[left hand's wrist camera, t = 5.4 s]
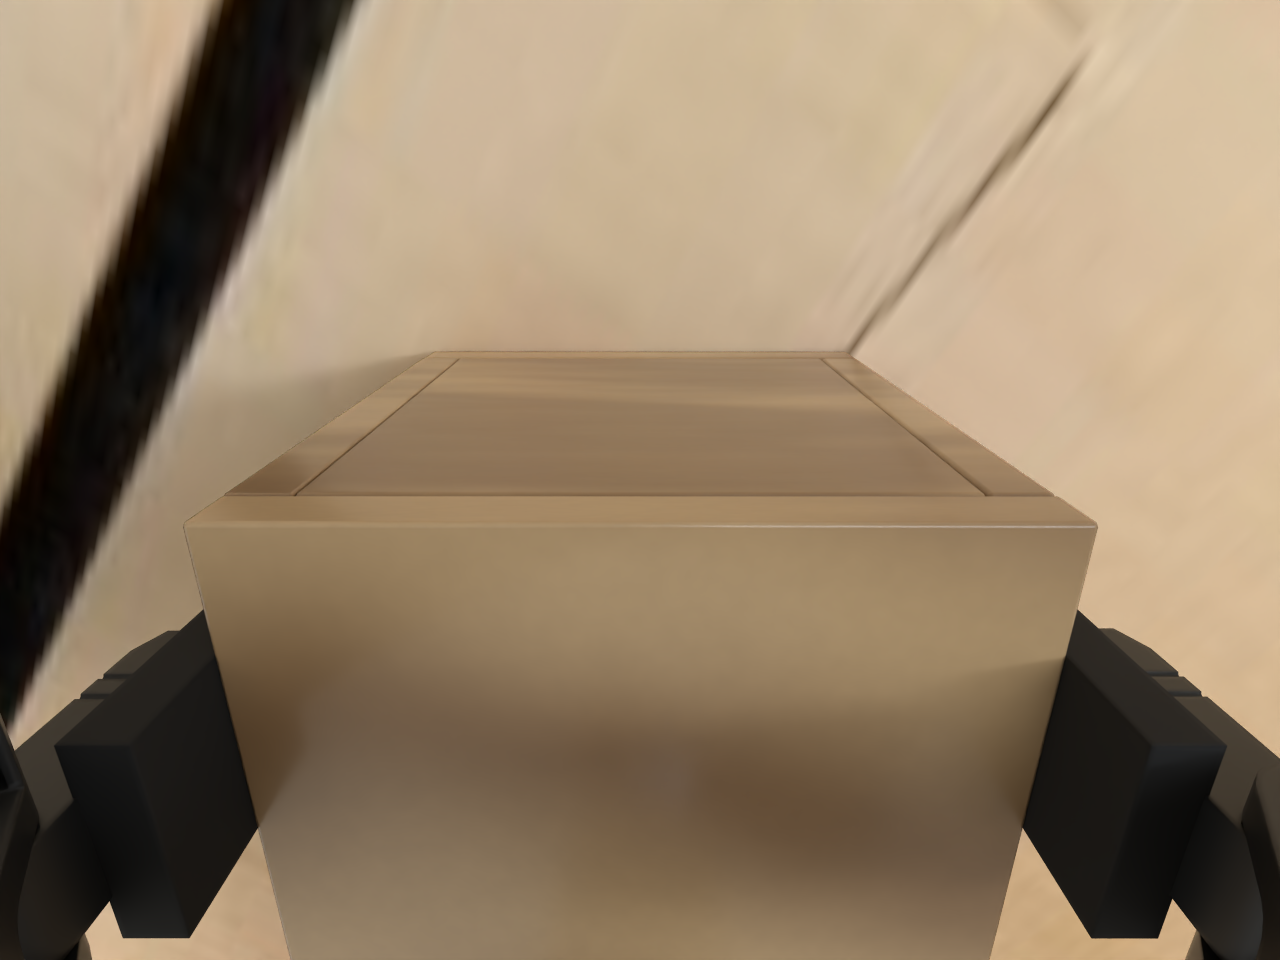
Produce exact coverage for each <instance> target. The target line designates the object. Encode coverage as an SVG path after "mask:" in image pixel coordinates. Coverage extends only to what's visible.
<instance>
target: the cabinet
mask: <svg viewBox="0 0 1280 960" xmlns="http://www.w3.org/2000/svg"><path fill="white" fill-rule="evenodd" d="M183 528H184V532H185V536H186V540H187V544H188V548H189V552H190V556H191V560H192V564H193V568H194V572H195V576H196V580H197V584H198V588H199V592H200V596H201V600H202V604H203V608H204V613H205V617H206V621H207V625H208V629H209V633H210V637H211V641H212V645H213V649H214V653H215V657H216V661H217V665H218V669H219V673H220V677H221V681H222V685H223V689H224V693H225V697H226V701H227V705H228V709H229V713H230V717H231V721H232V725H233V729H234V733H235V737H236V741H237V745H238V749H239V753H240V757H241V762H242V766H243V770H244V774H245V778H246V782H247V786H248V790H249V794H250V798H251V802H252V806H253V810H254V814H255V818H256V822H257V826H258V830H259V834H260V838H261V842H262V846H263V850H264V854H265V858H266V862H267V866H268V870H269V874H270V878H271V882H272V886H273V890H274V894H275V898H276V902H277V906H278V910H279V915H280V919H281V923H282V927H283V931H284V935H285V939H286V943H287V947H288V951H289V955H290V959H291V960H990V956H991V952H992V948H993V944H994V940H995V936H996V932H997V928H998V924H999V920H1000V916H1001V912H1002V908H1003V904H1004V900H1005V896H1006V892H1007V888H1008V884H1009V880H1010V876H1011V872H1012V868H1013V864H1014V860H1015V856H1016V852H1017V848H1018V844H1019V840H1020V836H1021V832H1022V828H1023V824H1024V820H1025V816H1026V812H1027V808H1028V804H1029V800H1030V796H1031V792H1032V788H1033V784H1034V780H1035V776H1036V772H1037V768H1038V764H1039V760H1040V756H1041V752H1042V748H1043V744H1044V740H1045V736H1046V732H1047V728H1048V724H1049V720H1050V716H1051V712H1052V708H1053V704H1054V700H1055V696H1056V692H1057V688H1058V684H1059V680H1060V676H1061V672H1062V668H1063V664H1064V660H1065V656H1066V652H1067V648H1068V644H1069V640H1070V636H1071V632H1072V628H1073V624H1074V620H1075V616H1076V612H1077V608H1078V604H1079V600H1080V596H1081V592H1082V588H1083V584H1084V581H1085V577H1086V573H1087V569H1088V565H1089V561H1090V557H1091V553H1092V549H1093V545H1094V541H1095V537H1096V533H1097V529H1098V526H1097V523H1096V522H1095V521H1094V520H1092V519H1091V518H1089V517H1088V516H1086V515H1085V514H1083V513H1082V512H1080V511H1079V510H1077V509H1076V508H1074V507H1073V506H1072V505H1070V504H1069V503H1067V502H1066V501H1064V500H1063V499H1061V498H1059V497H1054V494H1053V493H1051V492H1050V491H1048V490H1047V489H1046V488H1044V487H1043V486H1041V485H1040V484H1038V483H1037V482H1035V481H1034V480H1032V479H1031V478H1029V477H1028V476H1026V475H1025V474H1024V473H1022V472H1021V471H1019V470H1018V469H1016V468H1015V467H1013V466H1012V465H1010V464H1009V463H1007V462H1006V461H1005V460H1003V459H1002V458H1000V457H999V456H997V455H996V454H994V453H993V452H991V451H990V450H988V449H987V448H986V447H984V446H983V445H981V444H980V443H978V442H977V441H975V440H974V439H972V438H971V437H969V436H968V435H967V434H965V433H964V432H962V431H961V430H959V429H958V428H956V427H955V426H953V425H952V424H950V423H949V422H948V421H946V420H945V419H943V418H942V417H940V416H939V415H937V414H936V413H934V412H933V411H931V410H930V409H928V408H927V407H926V406H924V405H923V404H921V403H920V402H918V401H917V400H915V399H914V398H912V397H911V396H909V395H908V394H907V393H905V392H904V391H902V390H901V389H899V388H898V387H896V386H895V385H893V384H892V383H890V382H889V381H888V380H886V379H885V378H883V377H882V376H880V375H879V374H877V373H876V372H874V371H873V370H871V369H870V368H869V367H867V366H866V365H864V364H863V363H861V362H860V361H858V360H857V359H855V358H853V357H852V356H851V355H849V354H848V353H846V352H434V353H432V354H430V355H429V356H428V357H426V358H423V359H422V360H420V361H419V362H417V363H416V364H414V365H413V366H412V367H410V368H409V369H407V370H406V371H404V372H403V373H401V374H400V375H398V376H397V377H395V378H394V379H392V380H391V381H390V382H388V383H387V384H385V385H384V386H382V387H381V388H379V389H378V390H376V391H375V392H373V393H372V394H371V395H369V396H368V397H366V398H365V399H363V400H362V401H360V402H359V403H357V404H356V405H354V406H353V407H352V408H350V409H349V410H347V411H346V412H344V413H343V414H341V415H340V416H338V417H337V418H335V419H334V420H333V421H331V422H330V423H328V424H327V425H325V426H324V427H322V428H321V429H319V430H318V431H316V432H315V433H313V434H312V435H311V436H309V437H308V438H306V439H305V440H303V441H302V442H300V443H299V444H297V445H296V446H294V447H293V448H292V449H290V450H289V451H287V452H286V453H284V454H283V455H281V456H280V457H278V458H277V459H275V460H274V461H273V462H271V463H270V464H268V465H267V466H265V467H264V468H262V469H261V470H259V471H258V472H256V473H255V474H254V475H252V476H251V477H249V478H248V479H246V480H245V481H243V482H242V483H240V484H239V485H237V486H236V487H234V488H233V489H232V490H230V491H229V492H227V493H226V494H225V496H223V497H221V498H219V499H218V500H216V501H215V502H213V503H212V504H211V505H209V506H208V507H206V508H205V509H203V510H202V511H200V512H199V513H197V514H196V515H194V516H193V517H192V518H190V519H189V520H187V521H186V522H185V523H184V527H183Z"/></svg>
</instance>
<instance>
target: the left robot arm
mask: <svg viewBox="0 0 1280 960" xmlns="http://www.w3.org/2000/svg"><path fill="white" fill-rule="evenodd" d="M257 829H258V826H257V822H256V818H255V814H254V810H253V806H252V802H251V798H250V794H249V790H248V786H247V782H246V778H245V774H244V770H243V766H242V762H241V757H240V753H239V749H238V745H237V741H236V737H235V733H234V729H233V725H232V721H231V717H230V713H229V709H228V705H227V701H226V697H225V693H224V689H223V685H222V681H221V677H220V673H219V669H218V665H217V661H216V657H215V653H214V649H213V645H212V641H211V637H210V633H209V629H208V625H207V621H206V617H205V613H204V609H203V610H202V611H201V612H200V613H199V614H198V615H197V616H196V617H194V618H193V619H192V620H191V621H190V622H189V623H188V624H187V625H186V626H185V627H183V628H182V629H181V630H180V631H167V632H165V633H163V634H161V635H159V636H158V637H156V638H154V639H152V640H150V641H148V642H146V643H145V644H143V645H141V646H139V647H137V648H135V649H133V650H132V651H130V652H129V653H128V654H127V655H126V656H124V657H123V658H122V659H121V660H120V661H119V662H117V663H116V664H115V665H114V666H113V667H112V668H110V669H109V670H108V671H107V672H106V673H105V674H104V677H103V679H98V680H96V681H95V682H94V683H93V684H92V685H91V686H89V687H88V688H87V689H86V690H85V691H84V692H83V693H81V697H80V699H74V700H73V701H72V702H71V703H70V704H69V705H67V706H66V707H65V708H64V709H63V710H62V711H60V712H59V713H58V714H57V715H56V716H55V717H53V718H52V719H51V720H50V721H49V722H48V723H47V724H45V725H44V726H43V727H42V728H41V729H40V730H38V731H37V732H36V733H35V734H34V735H33V736H31V737H30V738H29V739H28V740H27V741H26V742H24V743H23V744H22V745H21V746H20V747H19V748H17V749H16V750H15V751H14V748H13V746H12V743H11V741H10V738H9V735H8V733H7V730H6V728H5V725H4V722H3V720H2V717H1V715H0V960H92V957H91V951H90V946H89V943H88V941H87V938H86V935H85V932H86V931H87V930H88V928H89V927H90V926H91V924H92V923H93V922H94V920H95V919H96V918H97V917H98V915H99V914H100V913H101V911H102V910H103V909H104V907H105V906H106V905H107V904H108V902H109V901H110V904H111V906H112V909H113V912H114V915H115V917H116V920H117V923H118V926H119V929H120V931H121V934H122V937H123V938H190V936H191V935H192V933H193V932H194V930H195V928H196V927H197V925H198V924H199V922H200V920H201V919H202V917H203V916H204V914H205V912H206V911H207V909H208V907H209V906H210V904H211V903H212V901H213V899H214V898H215V896H216V895H217V893H218V891H219V890H220V888H221V887H222V885H223V883H224V882H225V880H226V878H227V877H228V875H229V874H230V872H231V870H232V869H233V867H234V866H235V864H236V862H237V861H238V859H239V858H240V856H241V854H242V853H243V851H244V849H245V848H246V846H247V845H248V843H249V841H250V840H251V838H252V837H253V835H254V833H255V832H256V830H257ZM1023 829H1024V831H1025V832H1026V834H1027V835H1028V837H1029V839H1030V840H1031V842H1032V843H1033V845H1034V847H1035V848H1036V850H1037V852H1038V853H1039V855H1040V856H1041V858H1042V860H1043V861H1044V863H1045V864H1046V866H1047V868H1048V869H1049V871H1050V872H1051V874H1052V876H1053V877H1054V879H1055V881H1056V882H1057V884H1058V885H1059V887H1060V889H1061V890H1062V892H1063V893H1064V895H1065V897H1066V898H1067V900H1068V901H1069V903H1070V905H1071V906H1072V908H1073V909H1074V911H1075V913H1076V914H1077V916H1078V918H1079V919H1080V921H1081V922H1082V924H1083V926H1084V927H1085V929H1086V930H1087V932H1088V934H1089V935H1090V937H1091V938H1158V937H1159V934H1160V931H1161V929H1162V926H1163V923H1164V920H1165V918H1166V915H1167V912H1168V909H1169V906H1170V904H1171V901H1172V899H1173V900H1174V901H1175V902H1176V904H1177V905H1178V906H1179V908H1180V909H1181V910H1182V912H1183V913H1184V914H1185V915H1186V917H1187V918H1188V919H1189V921H1190V922H1191V923H1192V924H1193V926H1194V927H1195V928H1196V933H1195V935H1194V938H1193V941H1192V943H1191V946H1190V948H1189V951H1188V954H1187V956H1186V959H1185V960H1280V758H1278V757H1277V756H1276V755H1275V754H1274V753H1272V752H1271V751H1270V750H1269V749H1268V748H1267V747H1265V746H1264V745H1263V744H1262V743H1261V742H1260V741H1258V740H1257V739H1256V738H1255V737H1254V736H1253V735H1251V734H1250V733H1249V732H1248V731H1247V730H1246V729H1244V728H1243V727H1242V726H1241V725H1240V724H1239V723H1237V722H1236V721H1235V720H1234V719H1233V718H1232V717H1230V716H1229V715H1228V714H1227V713H1226V712H1224V711H1223V710H1222V709H1221V708H1220V707H1219V706H1217V705H1216V704H1215V703H1214V702H1213V701H1212V700H1210V699H1209V698H1208V697H1202V695H1201V691H1200V690H1199V689H1198V688H1196V687H1195V686H1194V685H1193V684H1192V683H1191V682H1189V681H1188V680H1187V679H1186V678H1185V677H1179V675H1178V671H1177V670H1175V669H1174V668H1173V667H1172V666H1171V665H1169V664H1168V663H1167V662H1166V661H1165V660H1164V659H1162V658H1161V657H1160V656H1159V655H1158V654H1157V653H1155V652H1154V651H1153V650H1152V649H1151V648H1149V647H1147V646H1145V645H1143V644H1141V643H1140V642H1138V641H1136V640H1134V639H1132V638H1130V637H1128V636H1126V635H1125V634H1123V633H1121V632H1119V631H1117V630H1115V629H1098V628H1097V627H1096V626H1095V625H1094V624H1093V623H1092V622H1091V621H1090V620H1089V619H1087V618H1086V617H1085V616H1084V615H1083V614H1082V613H1081V612H1080V611H1079V610H1077V612H1076V616H1075V620H1074V624H1073V628H1072V632H1071V636H1070V640H1069V644H1068V648H1067V652H1066V656H1065V660H1064V664H1063V668H1062V672H1061V676H1060V680H1059V684H1058V688H1057V692H1056V696H1055V700H1054V704H1053V708H1052V712H1051V716H1050V720H1049V724H1048V728H1047V732H1046V736H1045V740H1044V744H1043V748H1042V752H1041V756H1040V760H1039V764H1038V768H1037V772H1036V776H1035V780H1034V784H1033V788H1032V792H1031V796H1030V800H1029V804H1028V808H1027V812H1026V816H1025V820H1024V824H1023Z"/></svg>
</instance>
